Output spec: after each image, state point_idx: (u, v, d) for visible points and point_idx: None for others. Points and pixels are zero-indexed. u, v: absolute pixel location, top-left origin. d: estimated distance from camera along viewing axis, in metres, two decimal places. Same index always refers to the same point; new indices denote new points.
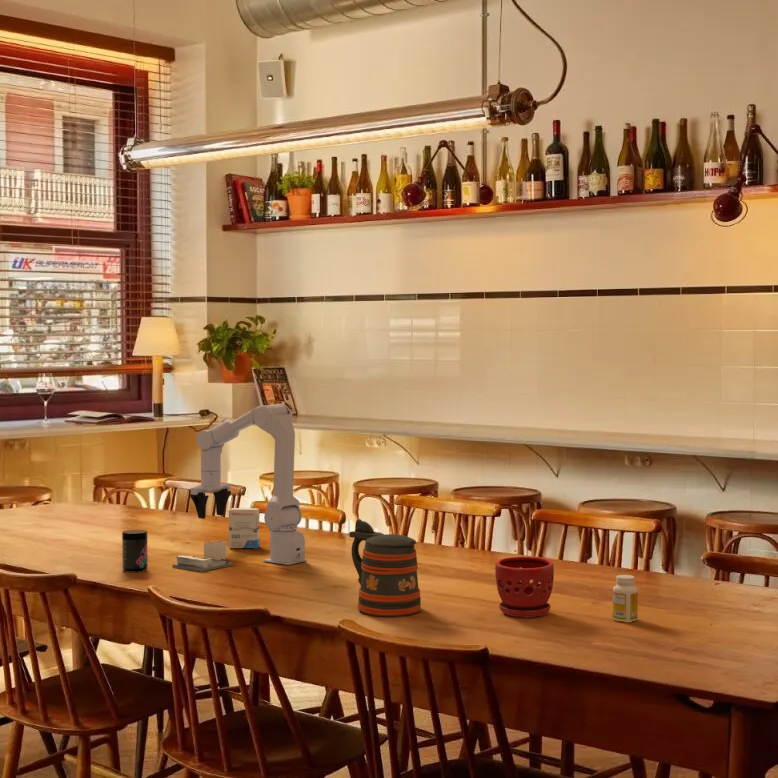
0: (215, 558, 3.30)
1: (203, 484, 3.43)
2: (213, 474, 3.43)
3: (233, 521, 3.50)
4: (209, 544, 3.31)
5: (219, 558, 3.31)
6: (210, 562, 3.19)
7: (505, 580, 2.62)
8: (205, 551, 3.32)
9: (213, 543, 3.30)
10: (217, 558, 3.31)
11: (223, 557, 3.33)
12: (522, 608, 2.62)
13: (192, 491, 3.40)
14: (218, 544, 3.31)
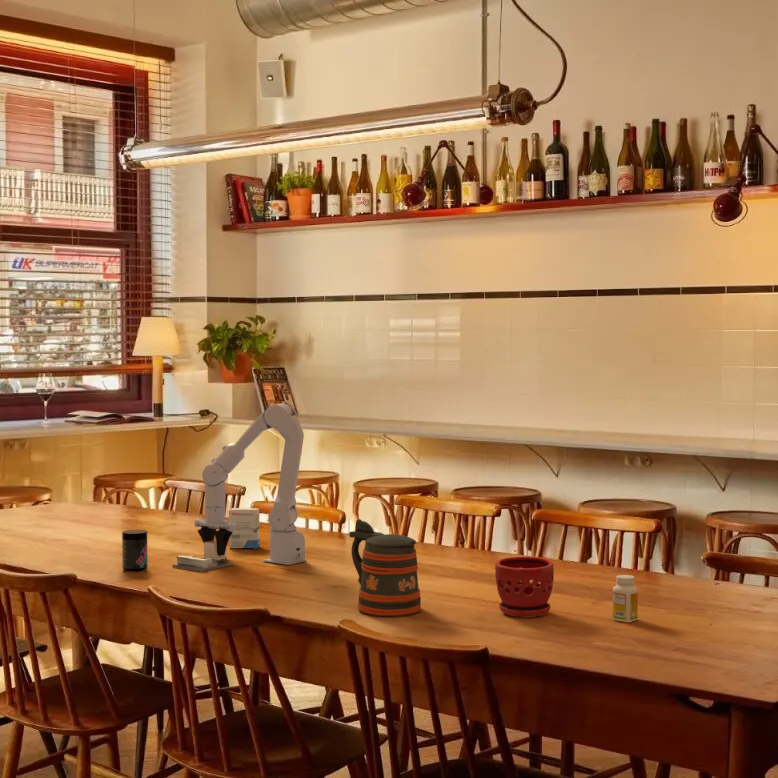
0: (215, 558, 3.30)
1: None
2: (205, 510, 3.31)
3: (233, 521, 3.50)
4: (209, 544, 3.31)
5: (219, 558, 3.31)
6: (210, 562, 3.19)
7: (505, 580, 2.62)
8: (205, 551, 3.32)
9: (213, 543, 3.30)
10: (217, 558, 3.31)
11: (223, 557, 3.33)
12: (522, 608, 2.62)
13: None
14: None
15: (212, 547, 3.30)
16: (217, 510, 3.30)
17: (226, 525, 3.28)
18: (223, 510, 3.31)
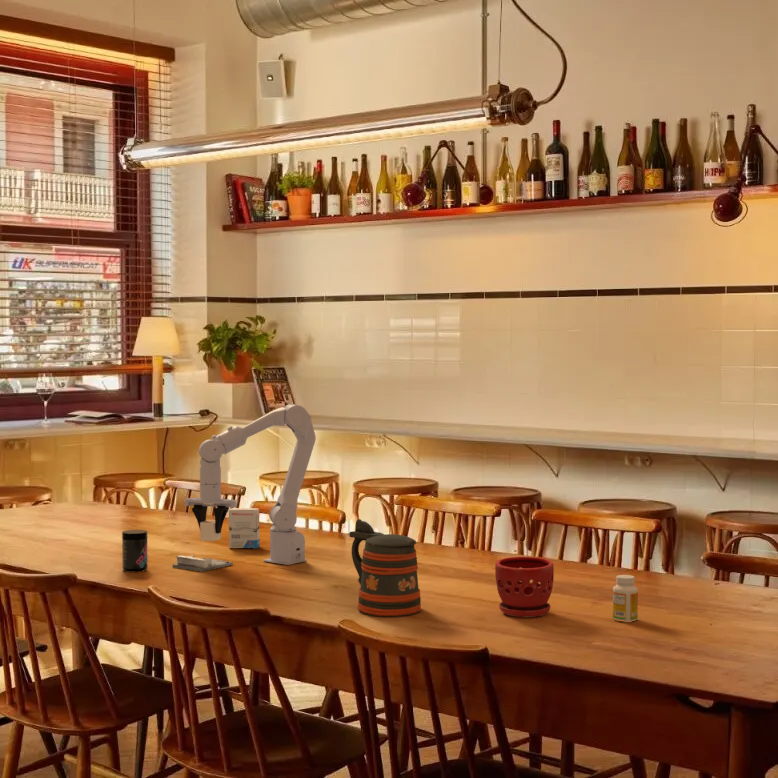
0: (214, 537, 3.22)
1: None
2: (201, 487, 3.22)
3: (233, 521, 3.50)
4: (207, 523, 3.22)
5: (216, 537, 3.24)
6: (210, 562, 3.19)
7: (505, 580, 2.62)
8: (202, 531, 3.23)
9: (211, 522, 3.22)
10: (215, 537, 3.23)
11: (219, 536, 3.25)
12: (522, 608, 2.62)
13: None
14: None
15: (211, 527, 3.22)
16: (216, 487, 3.22)
17: (227, 501, 3.22)
18: (220, 487, 3.24)
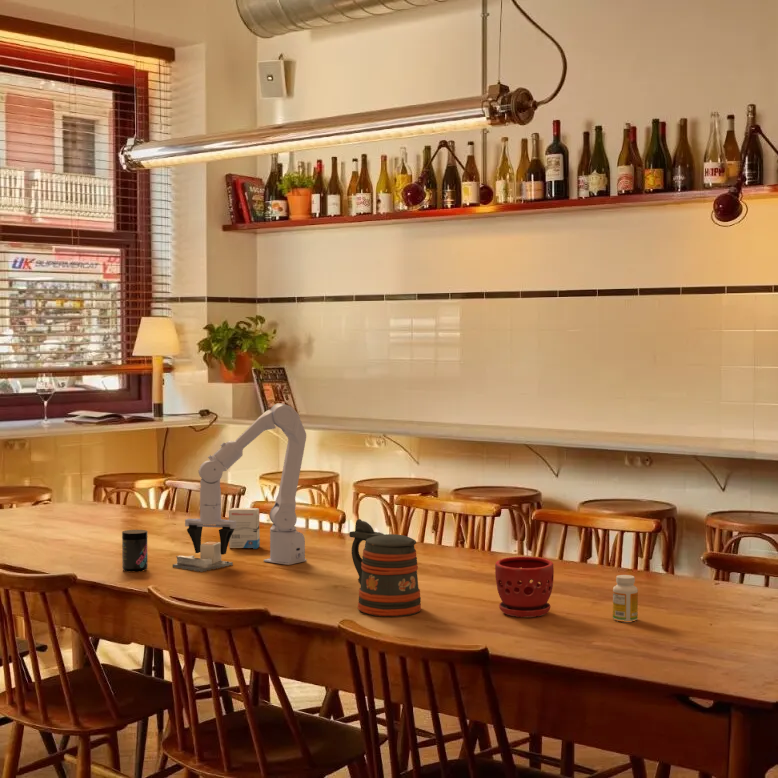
0: (214, 560, 3.23)
1: None
2: (202, 508, 3.22)
3: None
4: (207, 546, 3.22)
5: (217, 559, 3.24)
6: (210, 562, 3.19)
7: (505, 580, 2.62)
8: (202, 553, 3.23)
9: (211, 544, 3.23)
10: (215, 560, 3.23)
11: (219, 558, 3.26)
12: (522, 608, 2.62)
13: None
14: (216, 545, 3.24)
15: (211, 549, 3.22)
16: (216, 508, 3.22)
17: (227, 522, 3.22)
18: (220, 507, 3.24)
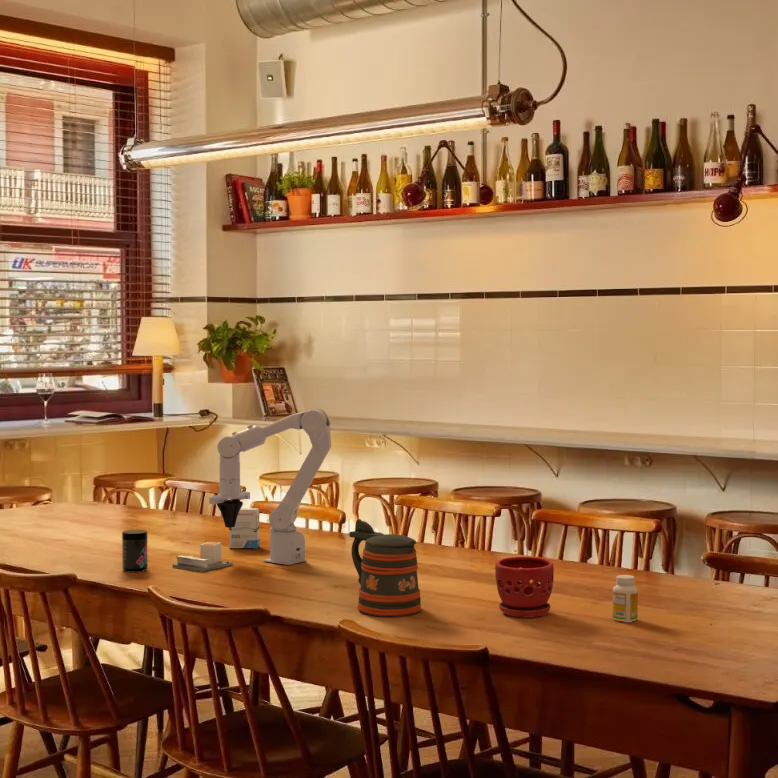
0: (214, 560, 3.23)
1: (222, 493, 3.28)
2: (232, 483, 3.28)
3: None
4: (207, 546, 3.22)
5: (217, 559, 3.24)
6: (210, 562, 3.19)
7: (505, 580, 2.62)
8: (202, 553, 3.23)
9: (211, 544, 3.23)
10: (215, 560, 3.23)
11: (219, 558, 3.26)
12: (522, 608, 2.62)
13: (211, 500, 3.25)
14: (216, 545, 3.24)
15: (211, 549, 3.22)
16: None
17: (246, 494, 3.34)
18: None
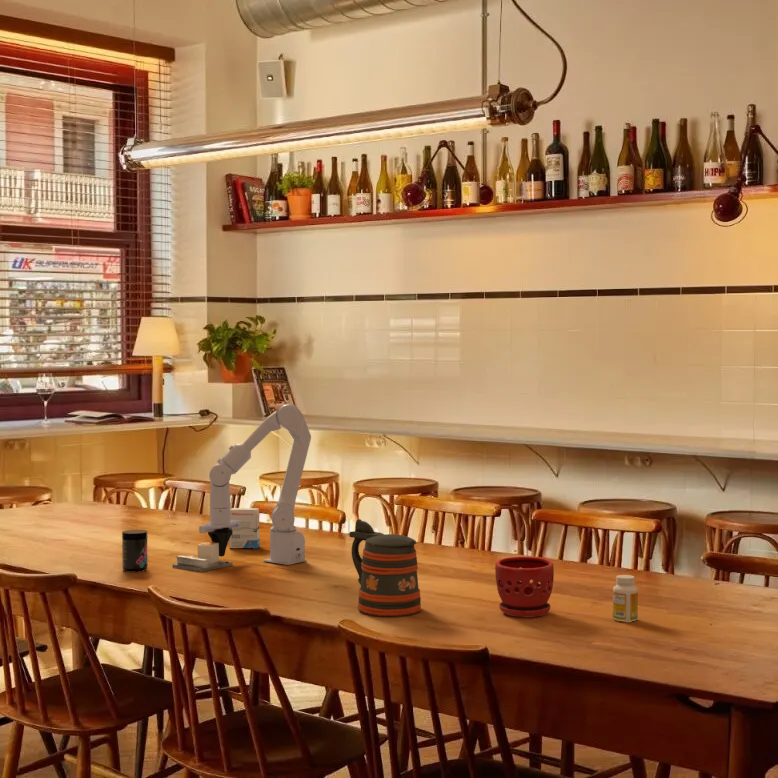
0: None
1: (212, 522, 3.25)
2: (223, 511, 3.25)
3: None
4: (204, 546, 3.22)
5: (214, 560, 3.23)
6: (210, 562, 3.19)
7: (505, 580, 2.62)
8: (199, 554, 3.22)
9: (209, 545, 3.22)
10: (213, 560, 3.23)
11: (216, 559, 3.25)
12: (522, 608, 2.62)
13: (201, 529, 3.22)
14: (213, 546, 3.23)
15: (208, 549, 3.21)
16: None
17: (237, 522, 3.31)
18: None
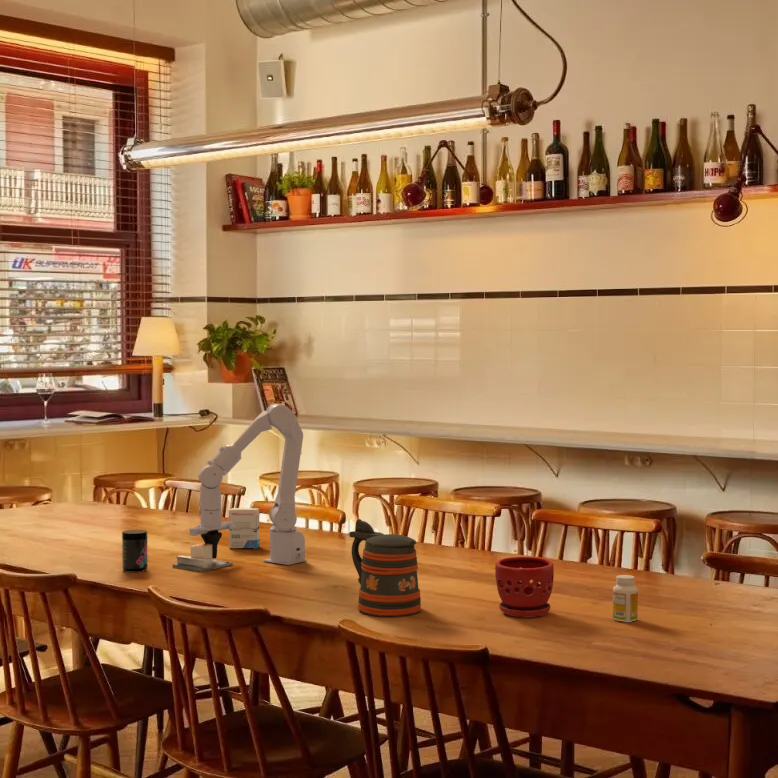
0: None
1: (203, 524, 3.22)
2: (213, 513, 3.22)
3: (233, 521, 3.50)
4: (197, 548, 3.20)
5: None
6: (210, 562, 3.19)
7: (505, 580, 2.62)
8: (192, 555, 3.20)
9: (202, 546, 3.20)
10: None
11: None
12: (522, 608, 2.62)
13: (192, 532, 3.19)
14: (206, 547, 3.21)
15: (201, 551, 3.19)
16: None
17: (228, 524, 3.28)
18: None
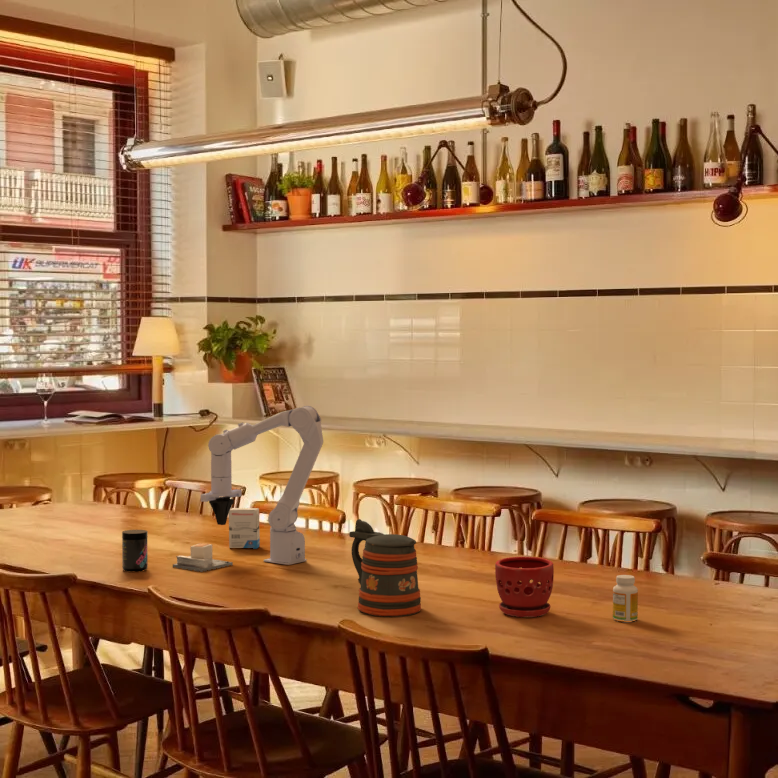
0: None
1: (213, 491, 3.30)
2: (224, 480, 3.29)
3: (233, 521, 3.50)
4: (197, 548, 3.20)
5: None
6: (210, 562, 3.19)
7: (505, 580, 2.62)
8: (192, 555, 3.20)
9: (202, 546, 3.20)
10: None
11: None
12: (522, 608, 2.62)
13: (202, 498, 3.26)
14: (206, 547, 3.21)
15: (201, 551, 3.19)
16: None
17: (238, 491, 3.36)
18: None
